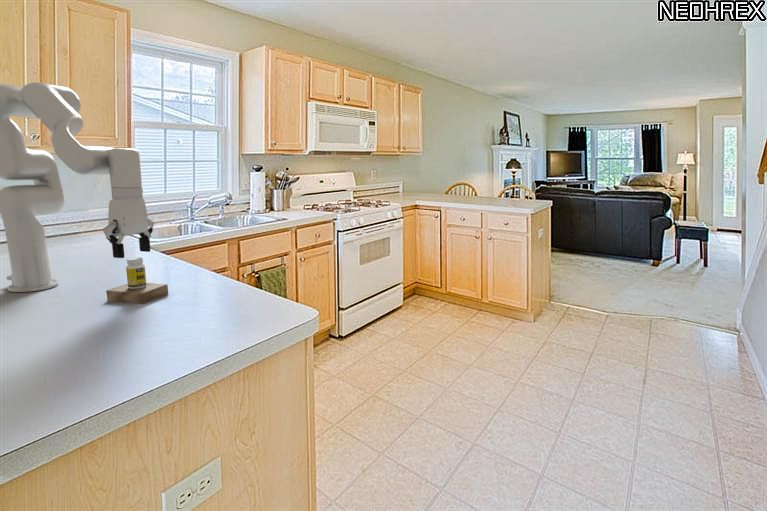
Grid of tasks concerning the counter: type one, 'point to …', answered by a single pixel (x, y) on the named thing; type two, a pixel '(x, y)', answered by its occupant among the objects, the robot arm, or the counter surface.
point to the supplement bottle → (136, 273)
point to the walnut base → (137, 293)
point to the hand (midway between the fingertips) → (132, 254)
